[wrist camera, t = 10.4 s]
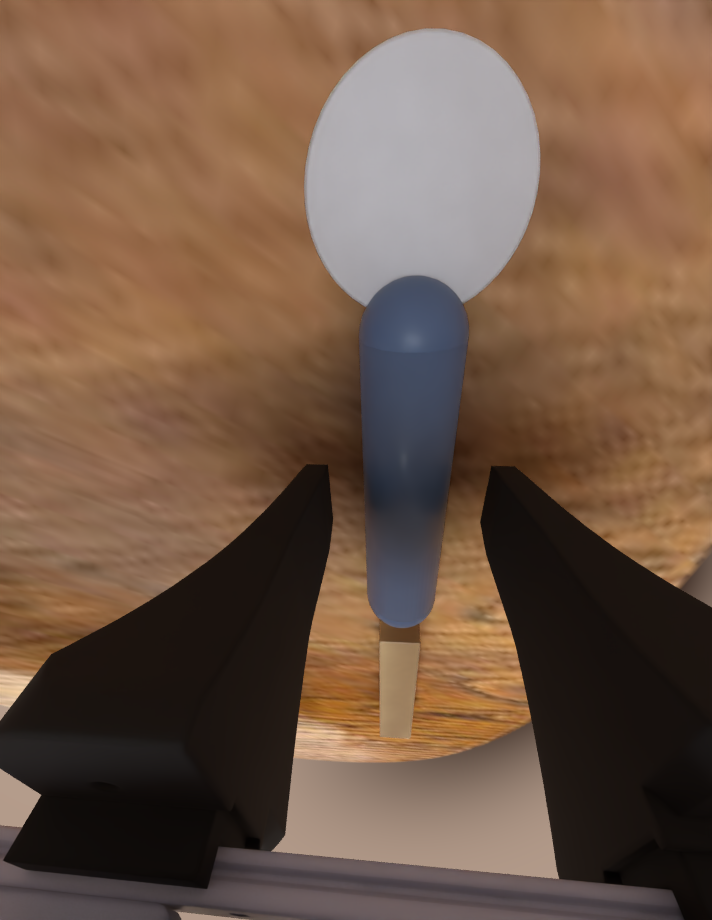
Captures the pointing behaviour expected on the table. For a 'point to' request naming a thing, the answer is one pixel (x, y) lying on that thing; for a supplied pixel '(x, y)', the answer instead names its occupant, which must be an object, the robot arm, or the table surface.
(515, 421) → the table surface
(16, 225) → the table surface
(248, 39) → the table surface
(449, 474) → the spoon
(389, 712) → the baton
